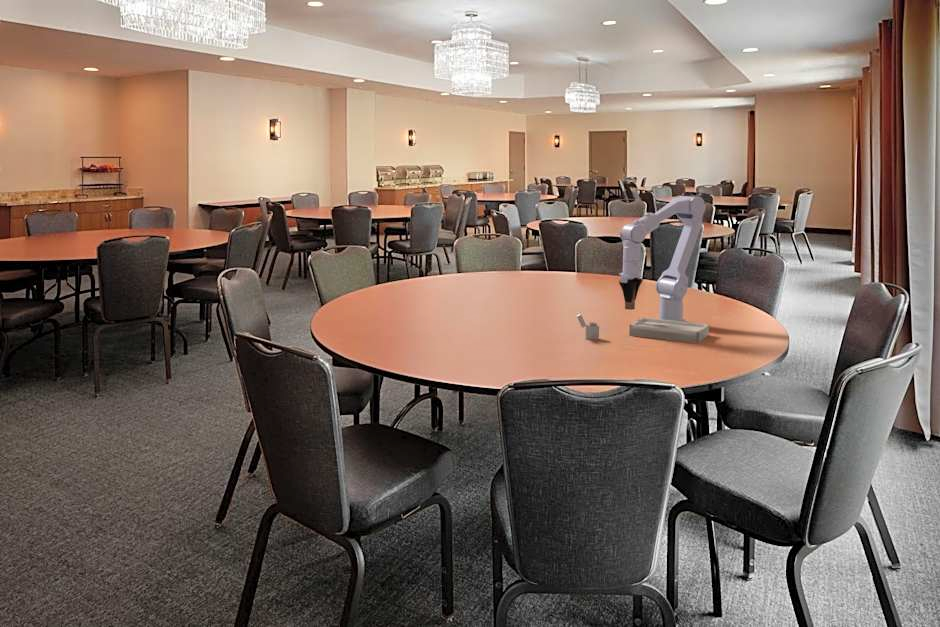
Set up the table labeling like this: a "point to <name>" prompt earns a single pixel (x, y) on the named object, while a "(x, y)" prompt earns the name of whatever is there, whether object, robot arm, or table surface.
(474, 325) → the table surface
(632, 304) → the peg
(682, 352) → the table surface
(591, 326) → the lighter
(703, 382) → the table surface
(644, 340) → the table surface
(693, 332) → the box
